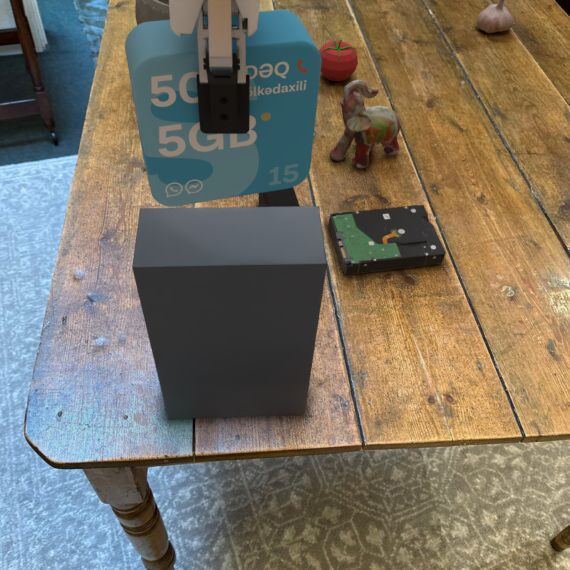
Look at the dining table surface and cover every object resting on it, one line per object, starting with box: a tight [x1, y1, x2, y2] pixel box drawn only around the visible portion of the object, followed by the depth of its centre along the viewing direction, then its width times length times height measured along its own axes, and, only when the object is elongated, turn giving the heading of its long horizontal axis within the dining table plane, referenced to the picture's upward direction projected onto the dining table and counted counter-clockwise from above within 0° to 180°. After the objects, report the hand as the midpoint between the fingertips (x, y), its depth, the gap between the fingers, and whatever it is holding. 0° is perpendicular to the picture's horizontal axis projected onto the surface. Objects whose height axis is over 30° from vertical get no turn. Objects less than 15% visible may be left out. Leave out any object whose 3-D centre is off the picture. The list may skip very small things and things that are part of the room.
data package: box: [124, 9, 321, 208], centre depth 42 cm, size 12×4×12 cm, turn 106°
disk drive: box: [328, 204, 447, 275], centre depth 88 cm, size 10×3×15 cm
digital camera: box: [257, 187, 300, 207], centre depth 87 cm, size 10×5×7 cm, turn 12°
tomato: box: [318, 38, 359, 82], centre depth 114 cm, size 8×8×8 cm
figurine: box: [329, 79, 401, 169], centre depth 95 cm, size 8×12×15 cm, turn 91°
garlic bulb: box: [476, 0, 514, 34], centre depth 128 cm, size 8×7×8 cm
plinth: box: [131, 205, 328, 420], centre depth 62 cm, size 16×7×27 cm, turn 94°
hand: (224, 101), depth 41 cm, fingers closed on data package, 5 cm apart
